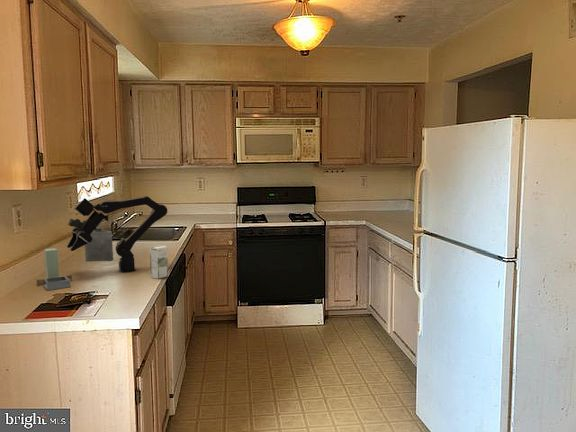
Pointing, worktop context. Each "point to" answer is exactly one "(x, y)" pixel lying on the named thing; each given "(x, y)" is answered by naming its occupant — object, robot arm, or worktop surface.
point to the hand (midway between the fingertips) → (69, 249)
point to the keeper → (56, 283)
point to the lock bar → (51, 263)
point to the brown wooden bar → (41, 281)
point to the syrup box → (159, 261)
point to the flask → (99, 246)
